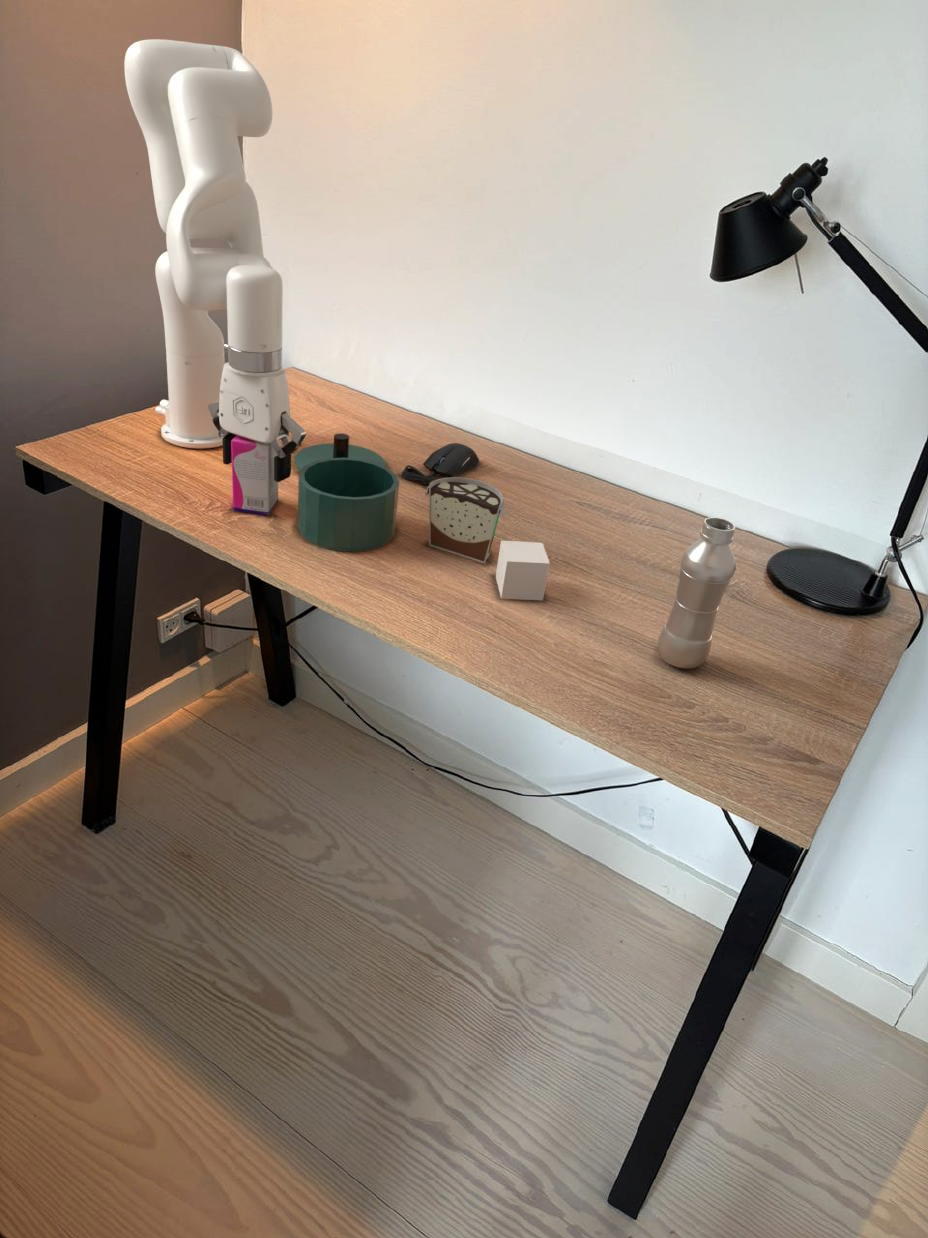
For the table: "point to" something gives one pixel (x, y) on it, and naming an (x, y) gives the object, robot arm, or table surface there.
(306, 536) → the tin
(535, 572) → the white cube
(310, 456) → the tin lid
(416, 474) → the computer mouse
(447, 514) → the food container
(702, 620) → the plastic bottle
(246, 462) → the supplement box
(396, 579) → the table surface
